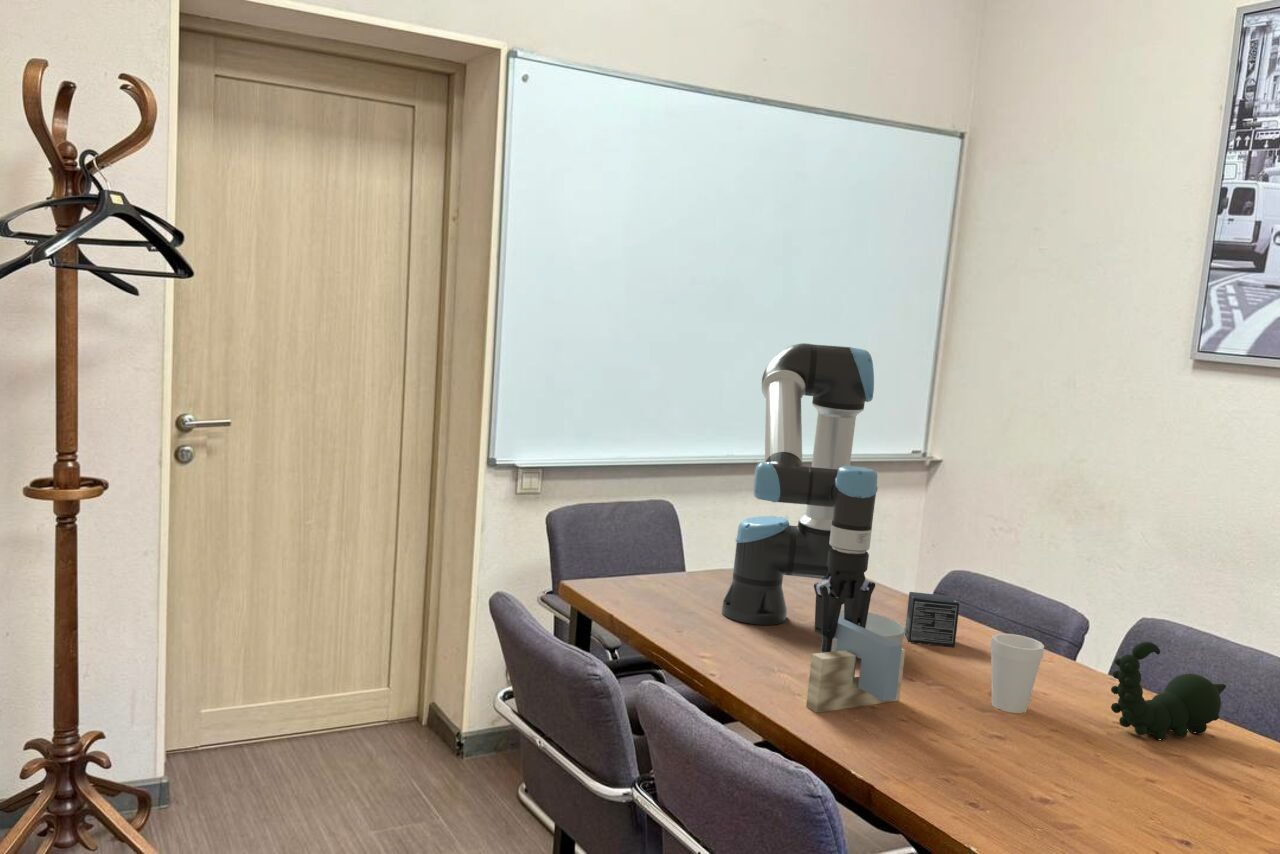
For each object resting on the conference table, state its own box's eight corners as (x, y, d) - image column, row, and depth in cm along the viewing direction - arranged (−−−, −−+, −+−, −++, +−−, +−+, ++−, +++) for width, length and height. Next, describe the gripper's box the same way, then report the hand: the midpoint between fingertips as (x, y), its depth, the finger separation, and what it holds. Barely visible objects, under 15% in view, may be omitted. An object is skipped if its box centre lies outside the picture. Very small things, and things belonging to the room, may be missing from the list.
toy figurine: (1134, 756, 191) (1243, 737, 199) (1141, 654, 188) (1251, 639, 196) (1096, 734, 200) (1202, 717, 208) (1103, 637, 197) (1209, 623, 205)
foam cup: (1034, 704, 209) (1043, 639, 207) (1035, 720, 200) (1045, 653, 198) (983, 694, 212) (992, 630, 210) (982, 709, 203) (991, 643, 201)
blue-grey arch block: (819, 667, 206) (824, 616, 205) (831, 665, 208) (836, 615, 207) (883, 701, 191) (889, 646, 190) (895, 699, 192) (902, 645, 191)
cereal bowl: (817, 658, 225) (820, 625, 224) (825, 636, 241) (828, 605, 240) (899, 672, 220) (903, 639, 220) (902, 649, 236) (906, 618, 236)
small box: (950, 639, 247) (955, 595, 246) (955, 648, 241) (961, 603, 239) (903, 634, 248) (908, 590, 247) (907, 642, 242) (913, 597, 240)
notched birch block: (816, 712, 194) (822, 659, 193) (806, 706, 196) (812, 653, 195) (899, 700, 204) (905, 649, 202) (888, 695, 206) (894, 644, 205)
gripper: (828, 555, 195) (814, 680, 197) (894, 552, 203) (880, 672, 205) (802, 545, 201) (789, 666, 204) (868, 542, 209) (854, 659, 212)
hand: (835, 669), depth 204 cm, fingers closed on blue-grey arch block, 3 cm apart
